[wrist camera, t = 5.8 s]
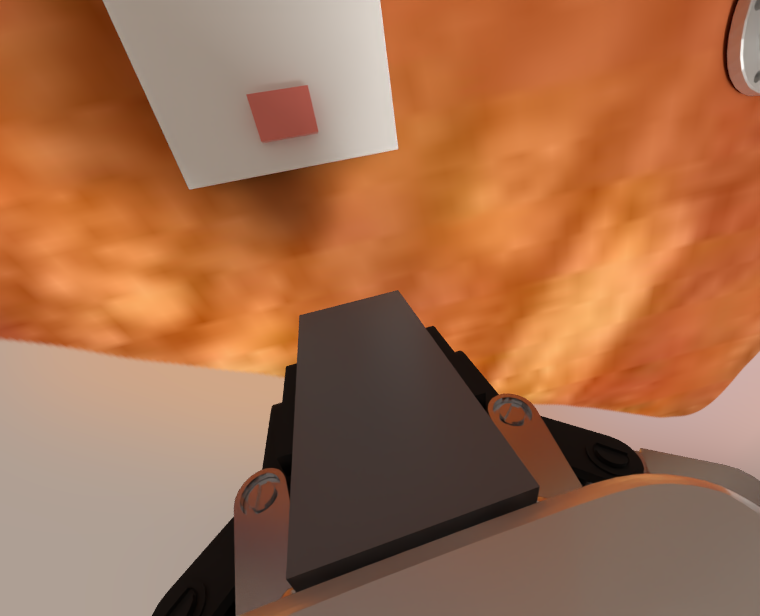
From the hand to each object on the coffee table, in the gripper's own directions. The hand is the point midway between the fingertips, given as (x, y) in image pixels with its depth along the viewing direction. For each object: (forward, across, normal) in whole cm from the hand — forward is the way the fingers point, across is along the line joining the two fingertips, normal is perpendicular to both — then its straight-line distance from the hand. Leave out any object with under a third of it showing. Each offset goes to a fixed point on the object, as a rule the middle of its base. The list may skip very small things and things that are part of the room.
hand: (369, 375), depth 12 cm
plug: (+2, 0, 0) cm, 2 cm away
